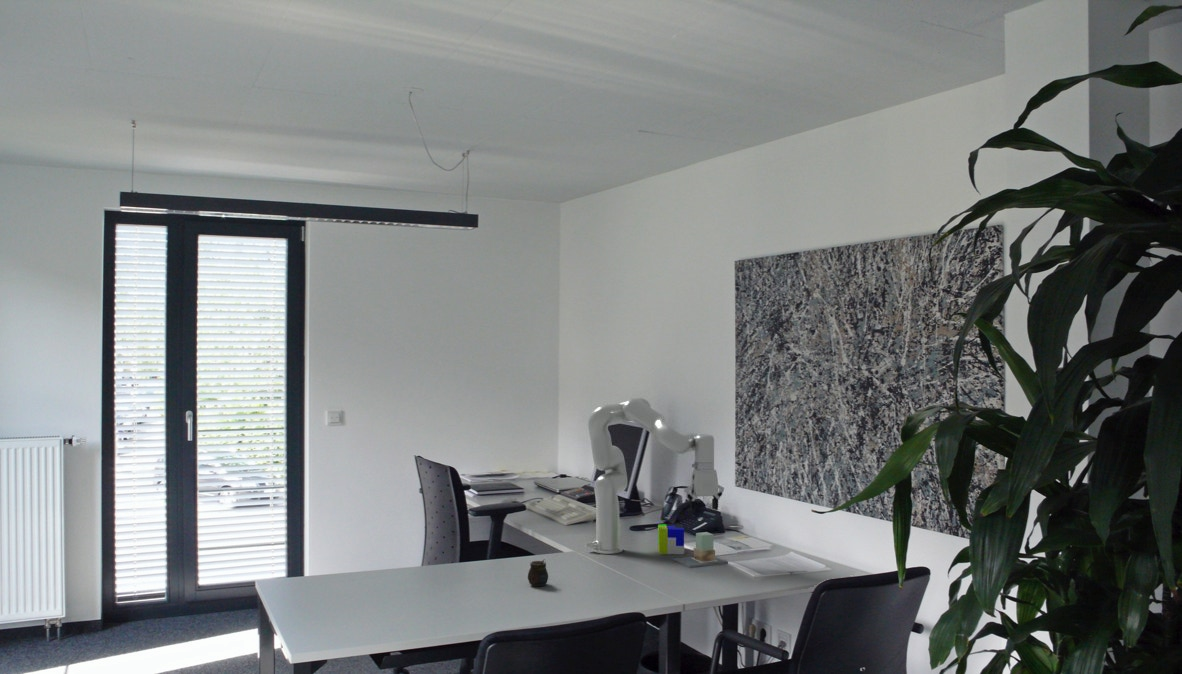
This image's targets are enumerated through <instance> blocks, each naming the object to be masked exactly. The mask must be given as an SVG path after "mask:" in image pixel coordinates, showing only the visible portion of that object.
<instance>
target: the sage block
mask: <svg viewBox="0 0 1182 674" xmlns="http://www.w3.org/2000/svg"><path fill="white" fill-rule="evenodd" d="M695 548H696V549H698V550H701V551H708V550H713V549H714V534H713V533H710V532H707V531H705V532H704V531H703V532H695Z"/></svg>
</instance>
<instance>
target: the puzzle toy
mask: <svg viewBox="0 0 1182 674" xmlns="http://www.w3.org/2000/svg"><path fill="white" fill-rule="evenodd" d="M657 550H658V553H659V555H684V554H685V528H684V526H683V524H670V523H668V524H667V523H665V524H663V523H662V524H657Z"/></svg>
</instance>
